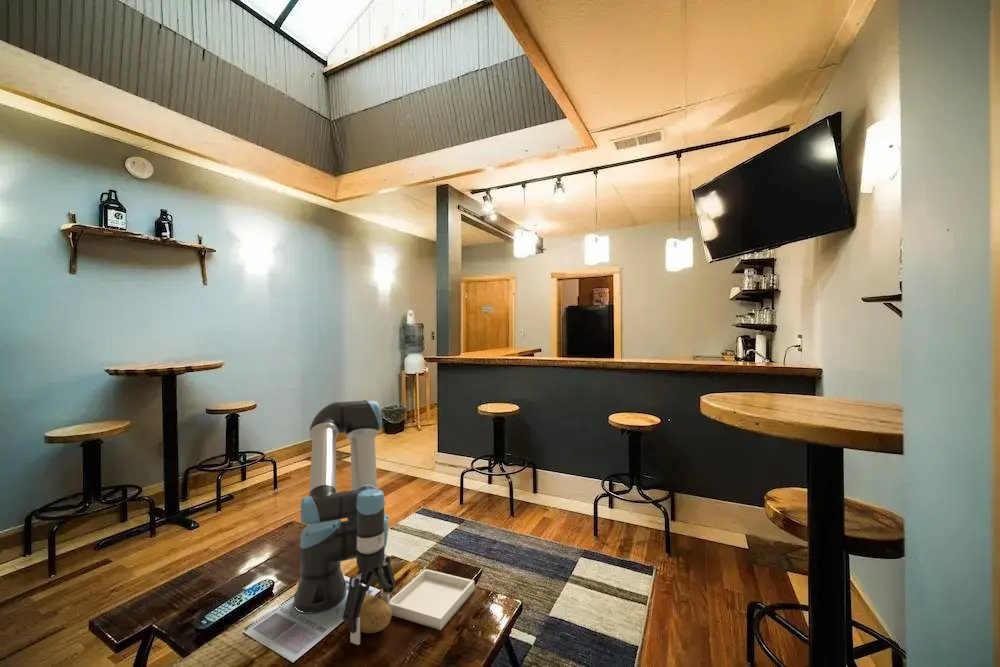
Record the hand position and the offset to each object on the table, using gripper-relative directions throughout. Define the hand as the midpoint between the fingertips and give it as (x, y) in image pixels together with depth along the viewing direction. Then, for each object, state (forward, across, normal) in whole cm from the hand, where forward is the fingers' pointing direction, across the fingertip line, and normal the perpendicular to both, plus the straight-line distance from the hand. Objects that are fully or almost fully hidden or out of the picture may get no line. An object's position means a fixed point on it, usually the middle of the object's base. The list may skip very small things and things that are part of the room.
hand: (370, 628), depth 110 cm
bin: (0, +17, -9) cm, 19 cm away
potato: (0, 0, 0) cm, 0 cm away
